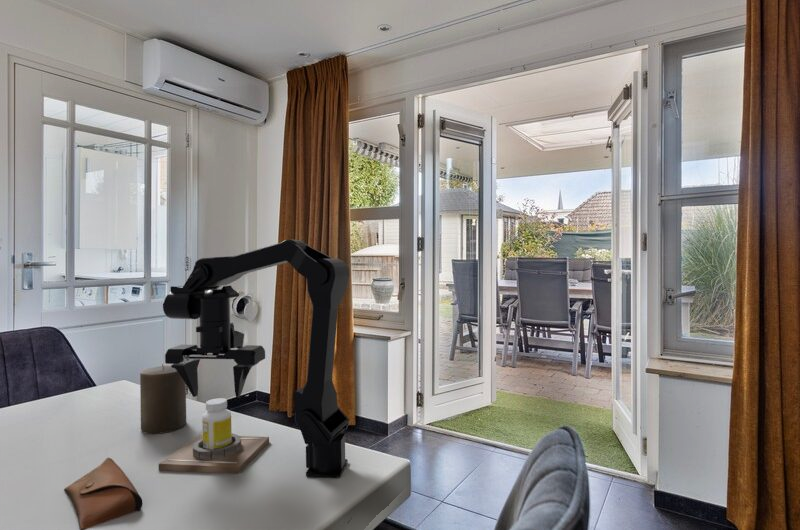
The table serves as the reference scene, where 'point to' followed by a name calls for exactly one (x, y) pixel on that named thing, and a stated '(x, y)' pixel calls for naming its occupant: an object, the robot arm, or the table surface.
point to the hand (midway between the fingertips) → (216, 396)
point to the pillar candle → (162, 400)
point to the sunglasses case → (103, 495)
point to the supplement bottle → (216, 425)
